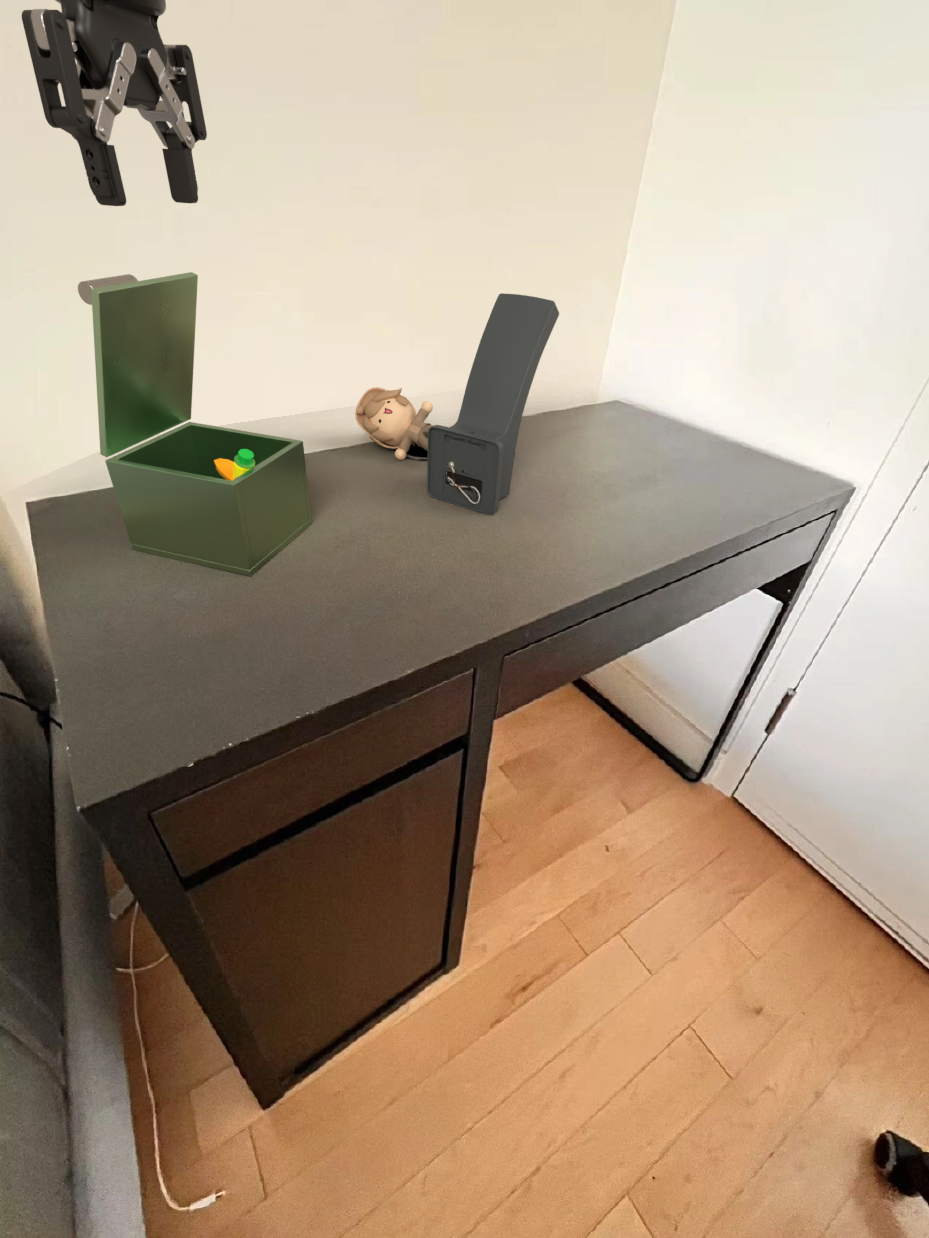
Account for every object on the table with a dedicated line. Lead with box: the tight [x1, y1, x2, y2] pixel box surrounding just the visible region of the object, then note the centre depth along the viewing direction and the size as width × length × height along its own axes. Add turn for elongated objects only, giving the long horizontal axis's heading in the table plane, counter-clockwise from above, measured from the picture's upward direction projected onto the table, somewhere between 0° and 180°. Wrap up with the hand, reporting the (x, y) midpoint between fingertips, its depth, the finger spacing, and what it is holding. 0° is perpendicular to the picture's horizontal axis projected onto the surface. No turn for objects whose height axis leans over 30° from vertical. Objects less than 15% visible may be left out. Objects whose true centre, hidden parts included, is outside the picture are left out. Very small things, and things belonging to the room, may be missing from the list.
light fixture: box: [426, 293, 560, 516], centre depth 83 cm, size 11×17×24 cm, turn 149°
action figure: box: [354, 386, 434, 461], centre depth 97 cm, size 10×11×15 cm
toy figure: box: [214, 449, 255, 481], centre depth 68 cm, size 7×4×12 cm, turn 57°
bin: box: [104, 421, 313, 577], centre depth 71 cm, size 16×14×11 cm
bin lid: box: [77, 271, 199, 458], centre depth 64 cm, size 17×14×6 cm
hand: (151, 204), depth 50 cm, fingers open, 8 cm apart
